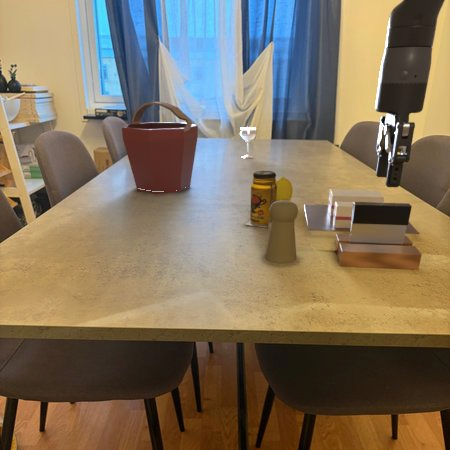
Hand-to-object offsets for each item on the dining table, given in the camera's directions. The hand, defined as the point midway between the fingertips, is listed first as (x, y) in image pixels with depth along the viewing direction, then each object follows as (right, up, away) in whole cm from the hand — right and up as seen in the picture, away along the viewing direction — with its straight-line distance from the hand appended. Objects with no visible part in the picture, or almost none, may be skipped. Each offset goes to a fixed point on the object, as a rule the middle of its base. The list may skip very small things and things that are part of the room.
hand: (386, 181), depth 77 cm
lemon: (-14, +4, +40) cm, 43 cm away
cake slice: (+2, -4, +21) cm, 22 cm away
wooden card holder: (0, -13, +7) cm, 15 cm away
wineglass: (-19, +42, +114) cm, 123 cm away
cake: (+3, +1, +31) cm, 31 cm away
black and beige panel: (0, -13, +7) cm, 15 cm away
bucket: (-49, +14, +60) cm, 79 cm away
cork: (-18, -13, +7) cm, 23 cm away
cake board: (+3, -2, +28) cm, 28 cm away
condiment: (-19, -3, +28) cm, 34 cm away
